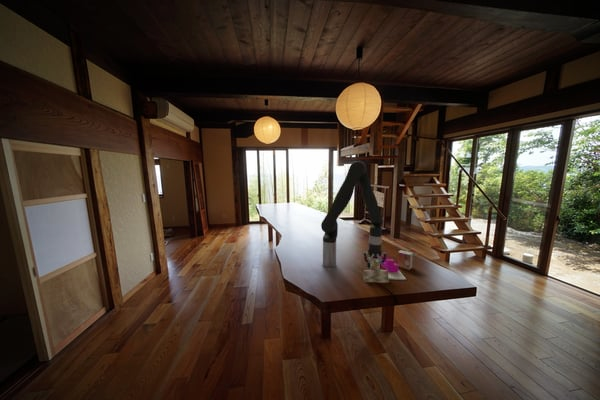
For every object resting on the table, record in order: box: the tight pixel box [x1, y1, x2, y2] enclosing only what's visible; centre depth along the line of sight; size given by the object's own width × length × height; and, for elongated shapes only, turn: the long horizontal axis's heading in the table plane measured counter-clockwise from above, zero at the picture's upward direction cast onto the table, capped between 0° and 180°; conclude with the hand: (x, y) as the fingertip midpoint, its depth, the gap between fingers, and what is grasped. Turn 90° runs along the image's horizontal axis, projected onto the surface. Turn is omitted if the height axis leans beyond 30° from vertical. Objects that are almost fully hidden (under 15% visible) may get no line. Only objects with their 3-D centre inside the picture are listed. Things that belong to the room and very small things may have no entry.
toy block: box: [380, 253, 399, 272], centre depth 139 cm, size 15×6×8 cm, turn 176°
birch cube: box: [368, 258, 381, 271], centre depth 131 cm, size 6×6×6 cm
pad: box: [380, 269, 407, 281], centre depth 130 cm, size 12×11×1 cm
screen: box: [363, 269, 390, 284], centre depth 123 cm, size 14×3×6 cm, turn 83°
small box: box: [396, 249, 414, 271], centre depth 141 cm, size 8×6×10 cm
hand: (374, 268), depth 131 cm, fingers closed on birch cube, 5 cm apart
